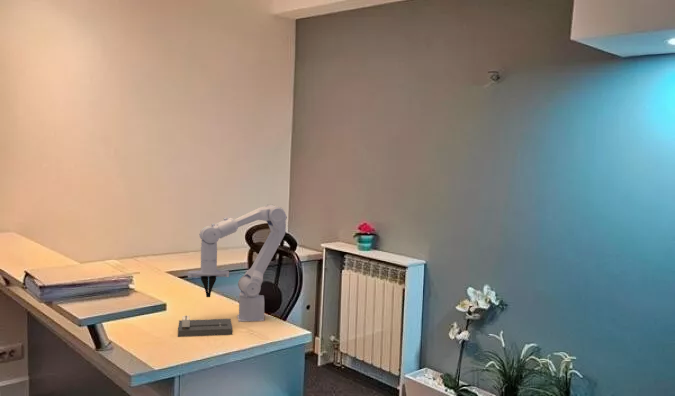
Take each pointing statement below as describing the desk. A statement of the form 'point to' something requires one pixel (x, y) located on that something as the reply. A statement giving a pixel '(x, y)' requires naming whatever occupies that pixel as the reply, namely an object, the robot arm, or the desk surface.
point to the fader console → (206, 327)
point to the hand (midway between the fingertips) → (208, 296)
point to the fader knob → (185, 321)
